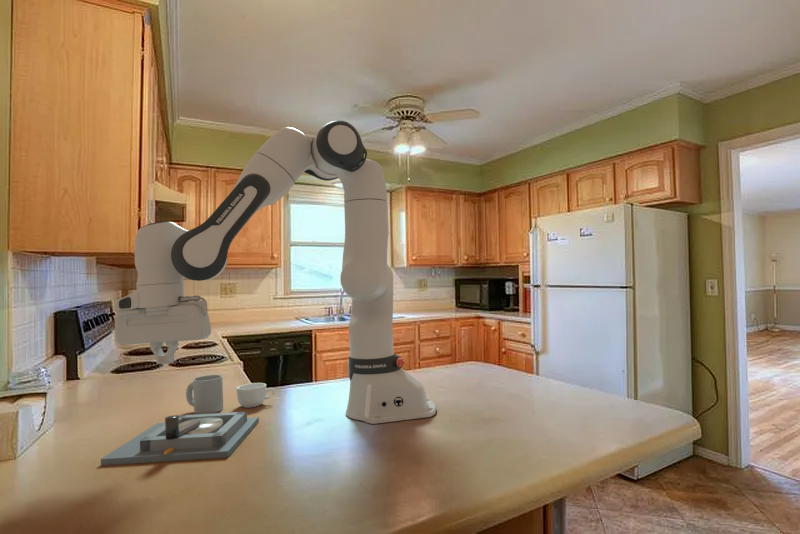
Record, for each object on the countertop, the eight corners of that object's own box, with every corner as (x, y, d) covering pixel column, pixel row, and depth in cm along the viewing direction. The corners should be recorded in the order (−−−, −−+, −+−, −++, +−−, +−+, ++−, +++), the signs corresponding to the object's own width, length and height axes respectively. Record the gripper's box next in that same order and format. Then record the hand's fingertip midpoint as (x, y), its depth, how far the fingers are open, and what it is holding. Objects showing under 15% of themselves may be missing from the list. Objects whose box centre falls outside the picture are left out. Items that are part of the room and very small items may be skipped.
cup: (213, 415, 112) (212, 380, 112) (178, 415, 113) (177, 381, 114) (228, 407, 119) (227, 374, 120) (195, 407, 121) (194, 375, 121)
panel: (258, 422, 105) (258, 407, 105) (228, 457, 84) (227, 439, 84) (157, 428, 104) (157, 413, 104) (100, 465, 83) (100, 447, 83)
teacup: (234, 410, 115) (233, 390, 116) (240, 403, 123) (239, 384, 123) (273, 407, 117) (272, 387, 117) (276, 400, 125) (275, 381, 125)
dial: (192, 425, 100) (191, 398, 100) (232, 426, 98) (231, 399, 98) (146, 450, 86) (145, 418, 86) (191, 451, 84) (190, 419, 84)
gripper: (214, 293, 94) (219, 357, 93) (130, 300, 97) (134, 362, 96) (196, 295, 87) (201, 363, 87) (107, 302, 90) (111, 368, 90)
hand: (165, 363), depth 92 cm, fingers closed
